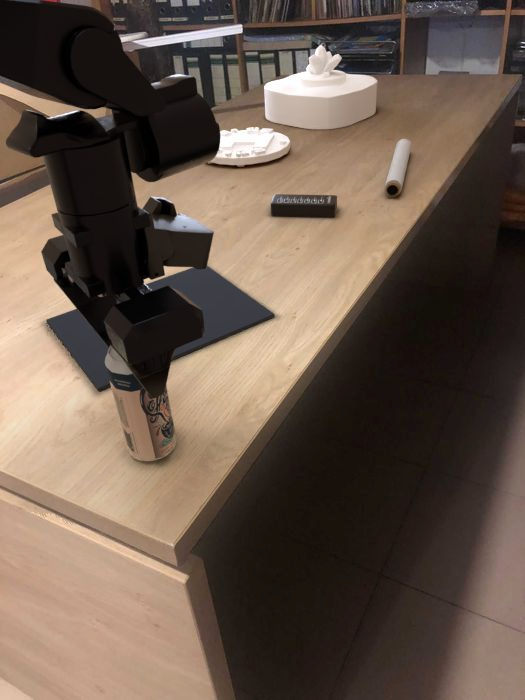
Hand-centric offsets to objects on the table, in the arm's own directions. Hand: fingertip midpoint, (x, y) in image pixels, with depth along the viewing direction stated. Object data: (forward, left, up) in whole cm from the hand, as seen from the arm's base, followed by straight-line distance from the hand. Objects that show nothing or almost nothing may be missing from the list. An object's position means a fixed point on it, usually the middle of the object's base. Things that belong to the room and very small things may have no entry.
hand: (134, 369), depth 53 cm
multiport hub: (+47, +36, -10) cm, 59 cm away
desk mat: (+11, +21, -10) cm, 25 cm away
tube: (+71, +38, -10) cm, 81 cm away
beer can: (0, 0, -10) cm, 10 cm away
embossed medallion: (+57, +70, -10) cm, 90 cm away
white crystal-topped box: (+89, +83, -10) cm, 122 cm away
